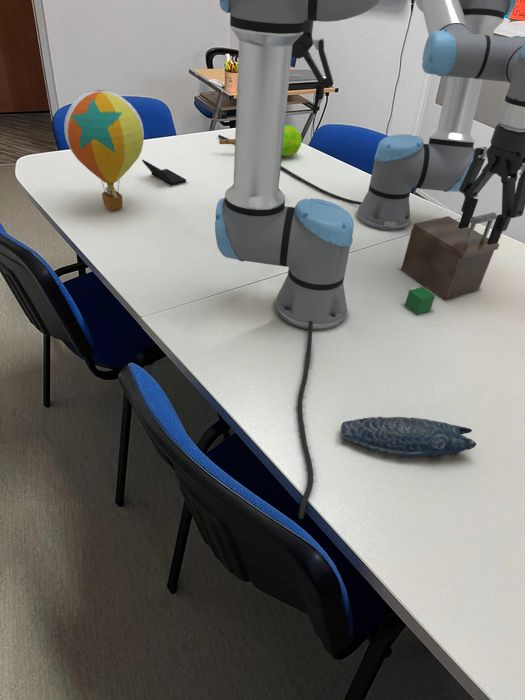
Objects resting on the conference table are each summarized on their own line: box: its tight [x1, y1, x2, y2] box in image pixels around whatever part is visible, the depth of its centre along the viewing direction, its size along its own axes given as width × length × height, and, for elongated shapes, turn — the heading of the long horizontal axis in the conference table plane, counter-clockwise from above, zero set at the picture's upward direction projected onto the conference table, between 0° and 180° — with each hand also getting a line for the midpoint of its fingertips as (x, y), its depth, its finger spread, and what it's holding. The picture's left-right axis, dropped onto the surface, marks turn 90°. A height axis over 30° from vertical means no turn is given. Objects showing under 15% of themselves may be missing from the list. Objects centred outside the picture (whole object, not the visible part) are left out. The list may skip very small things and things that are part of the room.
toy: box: [63, 89, 145, 212], centre depth 136 cm, size 20×20×30 cm
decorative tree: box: [218, 125, 303, 157], centre depth 186 cm, size 18×10×30 cm
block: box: [404, 286, 436, 316], centre depth 116 cm, size 4×4×4 cm
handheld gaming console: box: [141, 159, 187, 187], centre depth 162 cm, size 12×7×10 cm
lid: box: [411, 212, 501, 259], centre depth 118 cm, size 16×12×8 cm
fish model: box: [340, 416, 477, 458], centre depth 82 cm, size 7×21×5 cm, turn 84°
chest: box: [400, 228, 495, 301], centre depth 124 cm, size 15×12×11 cm
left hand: (288, 109), depth 135 cm, fingers open, 13 cm apart
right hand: (477, 234), depth 115 cm, fingers open, 8 cm apart
